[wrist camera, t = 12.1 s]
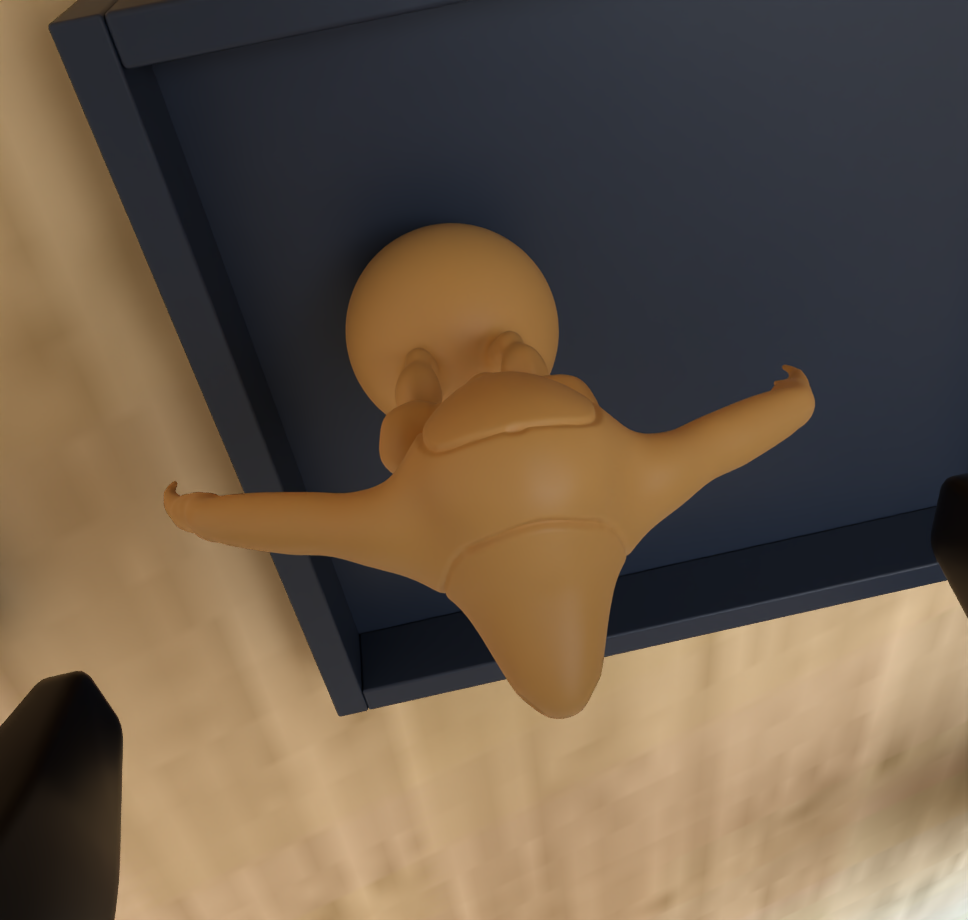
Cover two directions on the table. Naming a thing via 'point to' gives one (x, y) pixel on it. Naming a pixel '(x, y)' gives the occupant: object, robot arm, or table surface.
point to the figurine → (496, 461)
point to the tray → (568, 264)
